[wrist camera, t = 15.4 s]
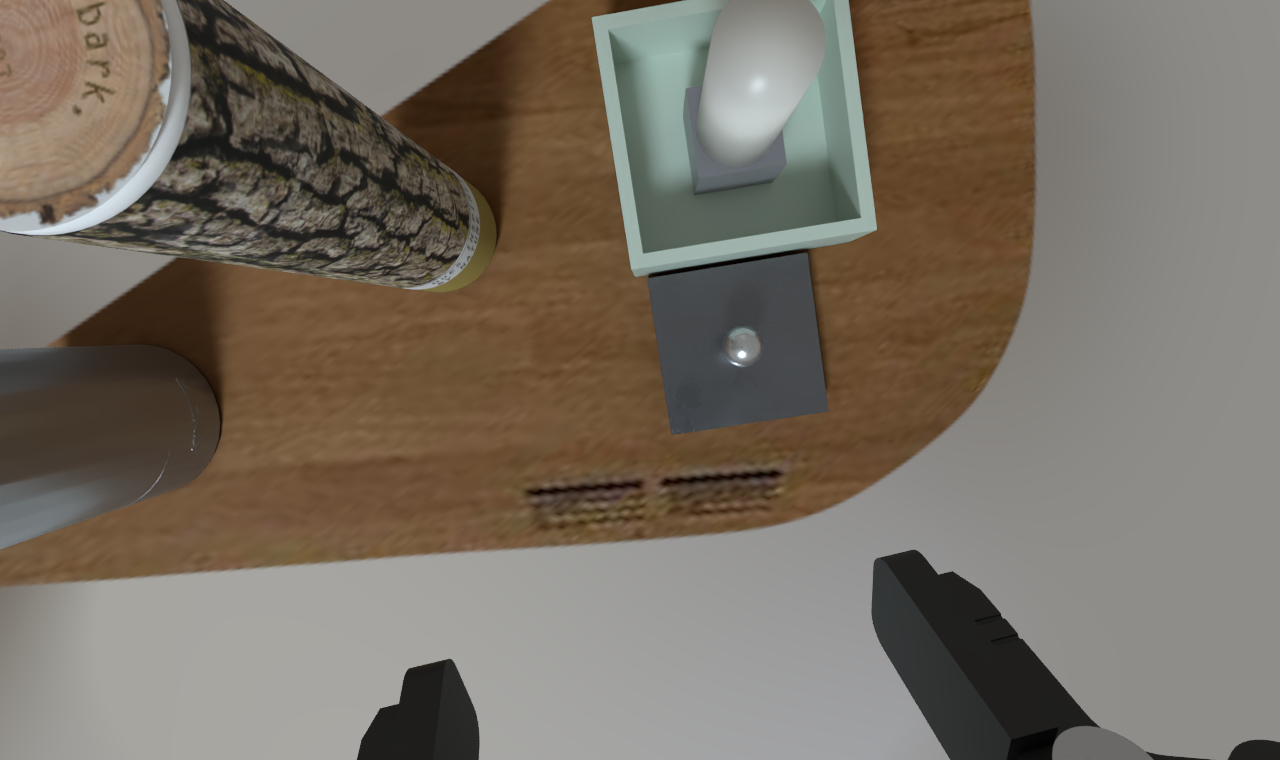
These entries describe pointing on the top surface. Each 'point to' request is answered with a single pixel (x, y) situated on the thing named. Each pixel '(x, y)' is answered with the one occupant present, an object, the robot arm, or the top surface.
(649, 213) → the bin
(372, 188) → the paper tube
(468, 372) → the top surface
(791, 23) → the white rounded piece
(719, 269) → the stud plate
